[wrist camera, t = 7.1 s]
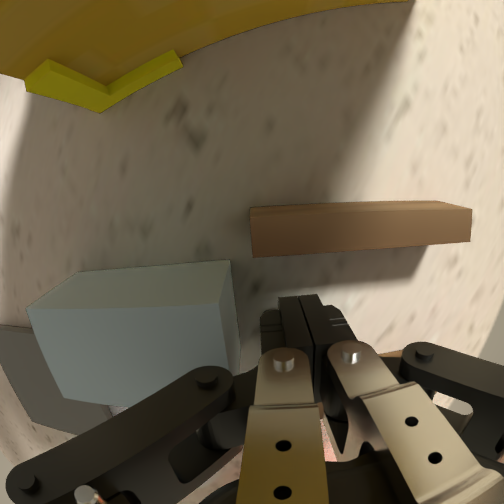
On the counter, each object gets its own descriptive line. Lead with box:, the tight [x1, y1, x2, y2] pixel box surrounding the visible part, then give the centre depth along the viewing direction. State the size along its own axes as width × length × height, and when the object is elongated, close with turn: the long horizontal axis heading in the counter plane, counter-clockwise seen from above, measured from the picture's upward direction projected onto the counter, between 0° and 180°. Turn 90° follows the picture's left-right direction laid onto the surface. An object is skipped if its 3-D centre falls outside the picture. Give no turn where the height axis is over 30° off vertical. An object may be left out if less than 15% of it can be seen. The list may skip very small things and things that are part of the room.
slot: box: [250, 201, 472, 419], centre depth 11 cm, size 8×8×2 cm
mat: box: [0, 325, 113, 435], centre depth 13 cm, size 8×8×1 cm
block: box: [25, 259, 241, 408], centre depth 10 cm, size 4×7×4 cm, turn 95°
